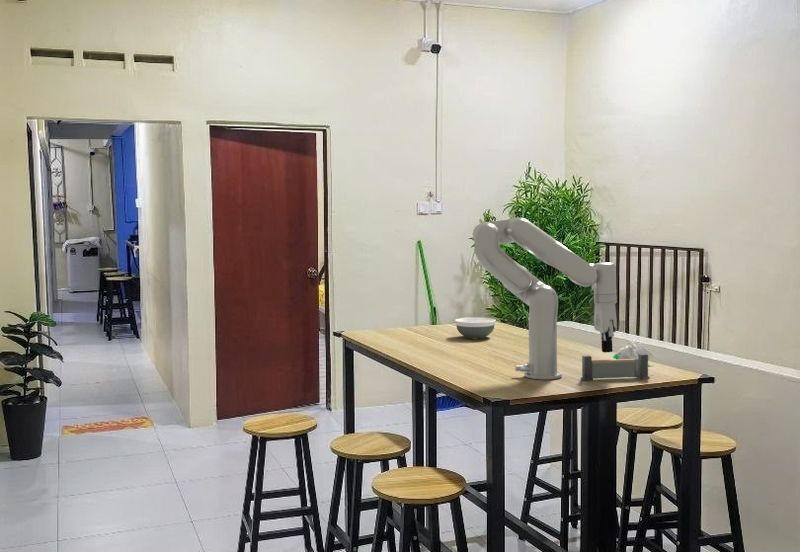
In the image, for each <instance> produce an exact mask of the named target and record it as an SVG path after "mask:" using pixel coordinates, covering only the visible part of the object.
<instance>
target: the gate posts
mask: <svg viewBox="0 0 800 552" xmlns="http://www.w3.org/2000/svg"><path fill="white" fill-rule="evenodd" d="M581 356H582V357H581V362H582V363H581V364H582V365H581V372H582V373H581V376H582V377H581V376H580V380H581V381H583V382H586V381H587V382H590V381H591V382H592V381H594V379H593V378H592V360H593V359H592V358H593V357H592V356H591V355H581ZM638 359H639V377H637V378H638V379H641V380H642V379H643V380H644V379H645V380H646V379H650V376H649V360H648V354H638Z"/></svg>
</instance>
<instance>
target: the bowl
mask: <svg viewBox="0 0 800 552" xmlns="http://www.w3.org/2000/svg"><path fill="white" fill-rule="evenodd" d="M496 321H497V320H496V318H492V317H479V316H477V317H473V316H472V317H461V318H456V319H454V322H455V325H456V329H457V331H458V333H460V335H462V336H464V337H465V338H466V337H467V338H466V339H468V338H483V339H486V337H488V336H489V335H491V333H493V331H494V329H495V324H496Z"/></svg>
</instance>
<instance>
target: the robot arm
mask: <svg viewBox="0 0 800 552" xmlns="http://www.w3.org/2000/svg"><path fill="white" fill-rule="evenodd" d="M472 238H473V241H474V245H473V246H474V248H473V249H474V254H475V256H476V258H477V260H478V262H479V263H480V265H481V266H482V267H483V268H484V269H485V270H486V271H487V272H488V273H489V274H490V275H492V276H493V277H494V278H496V279H497V280H498V281H499V282H501V283H502V285H503V287H504V288H505V289H506V290H508V291H509V292H510V293H512V294H513V295H514V296H515V297H517V298H518V299H519V300H521V301H522V302H523V303H524V304H526V305H527V306H529V307H528V308H529V310H528V311H529V313H528V362H526V364H525V363H524V365H515V366H514V370H515V372H522V373H523V372H524V377H526V378H528V379H532V380H542V381H543V380H545V381H546V380H556V379H560V378H562V377H563V376H562V372H561V371H558V309H559V298H558V294H557V292H556V290H555V289H554V288H552V287H551V286H550V285H547V284H545V283H544V282H542V280H540V279H539V278H537V277H536V276H535V275H534V274H532V273H531V272H530V271H529V269H527V268H526V267H525V266H523V265H521V264H520V263H518V262H517V261H515V260H514V259H513V258H512V257H510V255H508V254H507V253H506V252H504V250H503V249H502V248H501V247H500V245H506V244H513V243H516V244H517V245H518V246H520V247H522V248H523V249H524V250H526V251H527V252H528V253H530V254H531V255H533V256H534V257H535V258H536V259H538V260H539V261H542V262H543V263H544V264H546V265H549V266H551V267H553V268H555V269H557V270H558V271H559V272H561V273H563V274H564V275H565V276H567V277H569V279H570V281H571V282H572V283H574V284H576V285H578V286H581V287H587V288H588V287H591V286H593V303H594V311H593V312H594V313H593V315H594V317H593V318H594V319H593V321H594V324H593V328H594V330H595V331H597V332H599V334H600V339H601V352H602V353H603V354H604V353H613V337H615V334H614V333H616V332H617V331H618V320H617V309H616V304H617V302H618V301H617V300H618V297H617V275H616V274H617V271H616V264H615V263H613V262H607V261H606V262H597V263H589V262H588V261H586V260H585V259H583V258H582V257H580V256H579V255H578V254H576V253H574V252H573V251H572V250H570V249H568V248H567V247H566V246H565V245H563V244H562V243H561V242H559V241H558V240H556V239H555V238H553V237H552V236H551V235H550V234H548V233H547V232H545V231H543V230H542V229H541V228H539V227H538V226H536V225H535V224H534V223H532V222H531V221H530V220H528V219H527V218H524V217H513V218H507V219H501V220H494V221H485V222H484V221H483V222H481V223H479V224H476V226H475V227H474V229H473V231H472Z"/></svg>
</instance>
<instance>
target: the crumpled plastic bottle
mask: <svg viewBox="0 0 800 552" xmlns="http://www.w3.org/2000/svg"><path fill="white" fill-rule="evenodd" d="M638 354H648V361H649V360H650V359H652V358H653V357H654V354H653V353H652V352H651V351H650V350H649V349H647V348H646V347H644V346H643V345H642V343H641V342H638V343H636V342H635V341H633V340H631V341H627V344H626V346H624V347H621V348H620V349H619V351H618V352H617V353H614V355H613V356H612V359H613V360H617V359H638Z"/></svg>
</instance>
